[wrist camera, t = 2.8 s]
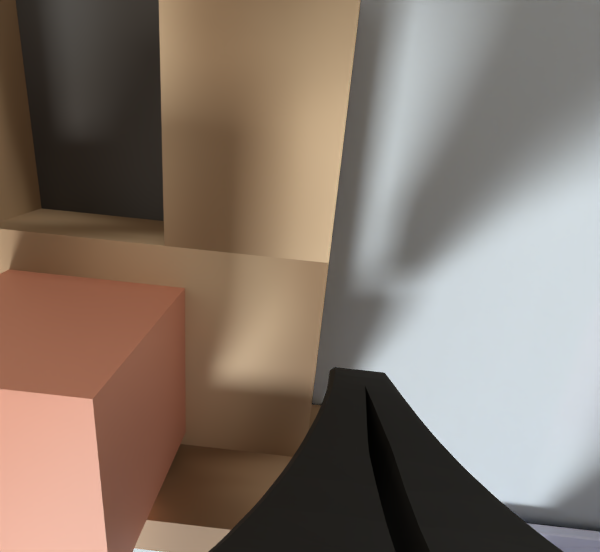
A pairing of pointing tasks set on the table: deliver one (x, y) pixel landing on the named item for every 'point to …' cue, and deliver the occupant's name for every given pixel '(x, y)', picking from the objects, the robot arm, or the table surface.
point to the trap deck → (189, 205)
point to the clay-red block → (86, 408)
